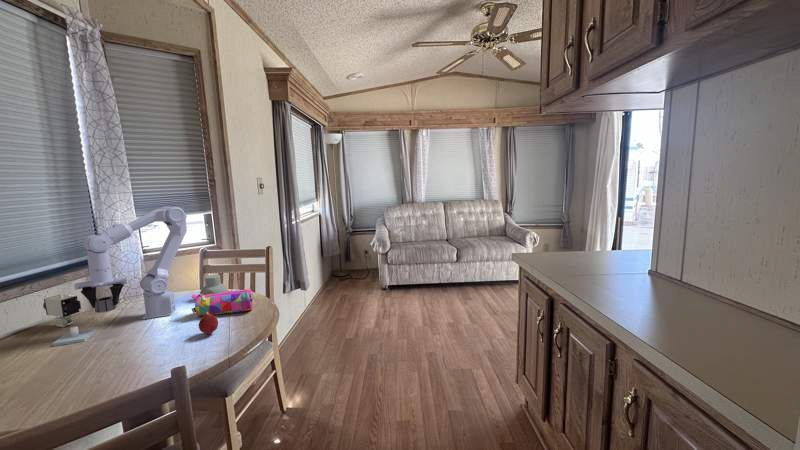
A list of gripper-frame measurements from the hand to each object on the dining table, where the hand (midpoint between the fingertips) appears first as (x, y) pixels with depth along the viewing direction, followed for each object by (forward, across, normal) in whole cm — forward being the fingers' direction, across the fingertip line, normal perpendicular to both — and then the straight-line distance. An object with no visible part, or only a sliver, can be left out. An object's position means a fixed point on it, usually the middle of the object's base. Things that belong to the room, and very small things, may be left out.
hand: (105, 305), depth 116 cm
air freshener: (+9, +31, +21) cm, 39 cm away
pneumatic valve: (+9, -16, +12) cm, 22 cm away
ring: (+2, 0, 0) cm, 2 cm away
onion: (+9, +34, -20) cm, 41 cm away
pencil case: (+9, +38, -1) cm, 39 cm away
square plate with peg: (+9, -8, -4) cm, 12 cm away
